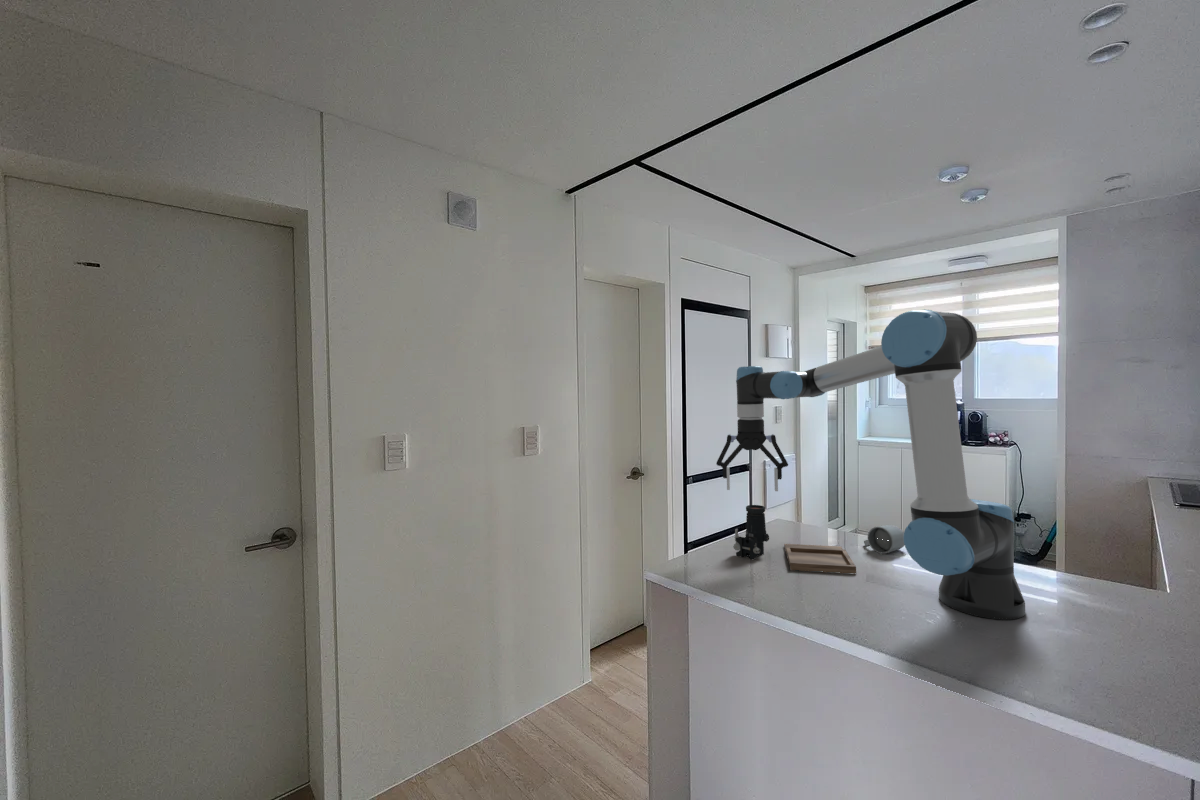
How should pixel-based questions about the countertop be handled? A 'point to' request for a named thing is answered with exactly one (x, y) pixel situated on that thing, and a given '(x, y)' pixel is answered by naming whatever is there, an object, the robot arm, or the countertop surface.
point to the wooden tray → (819, 558)
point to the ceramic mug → (885, 539)
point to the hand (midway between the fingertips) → (752, 489)
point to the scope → (752, 533)
